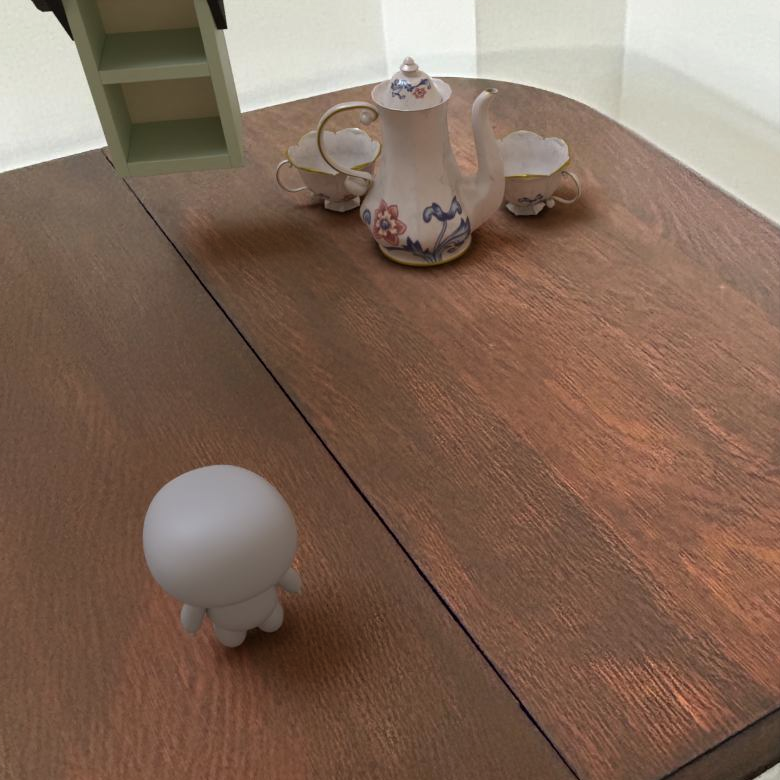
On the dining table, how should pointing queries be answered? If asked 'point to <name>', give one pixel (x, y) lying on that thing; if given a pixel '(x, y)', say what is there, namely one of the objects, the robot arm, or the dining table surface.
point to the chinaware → (425, 169)
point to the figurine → (222, 549)
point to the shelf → (159, 84)
